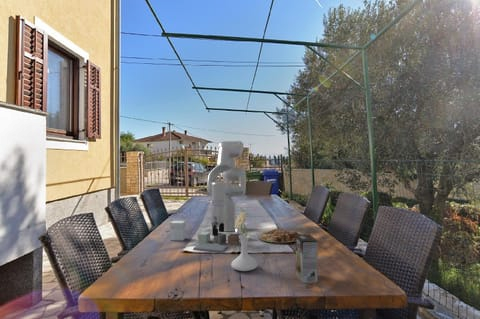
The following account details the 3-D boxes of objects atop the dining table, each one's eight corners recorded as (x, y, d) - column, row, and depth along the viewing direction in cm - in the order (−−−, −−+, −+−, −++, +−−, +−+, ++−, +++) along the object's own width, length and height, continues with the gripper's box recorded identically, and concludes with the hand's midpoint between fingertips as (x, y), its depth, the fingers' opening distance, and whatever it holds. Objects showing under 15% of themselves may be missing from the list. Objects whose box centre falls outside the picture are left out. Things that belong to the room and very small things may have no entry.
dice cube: (213, 243, 159) (213, 234, 159) (220, 241, 163) (220, 232, 163) (219, 244, 156) (219, 235, 156) (226, 243, 159) (226, 234, 159)
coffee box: (295, 273, 115) (294, 234, 115) (310, 273, 115) (310, 233, 115) (301, 283, 106) (301, 240, 106) (318, 282, 106) (318, 239, 106)
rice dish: (250, 243, 163) (250, 234, 163) (268, 230, 187) (268, 222, 187) (297, 249, 150) (297, 239, 149) (310, 235, 174) (310, 226, 174)
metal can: (236, 237, 171) (236, 227, 171) (244, 237, 169) (244, 227, 169) (234, 239, 166) (234, 229, 166) (242, 240, 165) (242, 229, 165)
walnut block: (231, 242, 161) (231, 233, 161) (239, 242, 159) (239, 234, 159) (227, 245, 155) (227, 236, 155) (236, 245, 154) (236, 236, 154)
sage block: (202, 239, 166) (202, 231, 166) (210, 240, 165) (210, 232, 165) (198, 242, 160) (198, 233, 160) (206, 243, 159) (206, 234, 159)
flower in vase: (232, 263, 127) (231, 208, 127) (257, 263, 126) (256, 208, 126) (230, 275, 114) (229, 213, 114) (258, 275, 113) (257, 213, 113)
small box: (186, 238, 170) (185, 220, 170) (183, 240, 164) (183, 222, 164) (173, 237, 171) (173, 220, 171) (170, 240, 165) (169, 222, 165)
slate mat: (200, 244, 155) (200, 243, 155) (227, 247, 151) (227, 245, 151) (193, 249, 147) (193, 247, 147) (222, 252, 142) (222, 250, 142)
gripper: (217, 201, 169) (217, 230, 169) (206, 205, 153) (206, 236, 152) (229, 201, 167) (229, 230, 166) (219, 205, 150) (219, 237, 150)
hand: (218, 233), depth 159 cm, fingers open, 9 cm apart
